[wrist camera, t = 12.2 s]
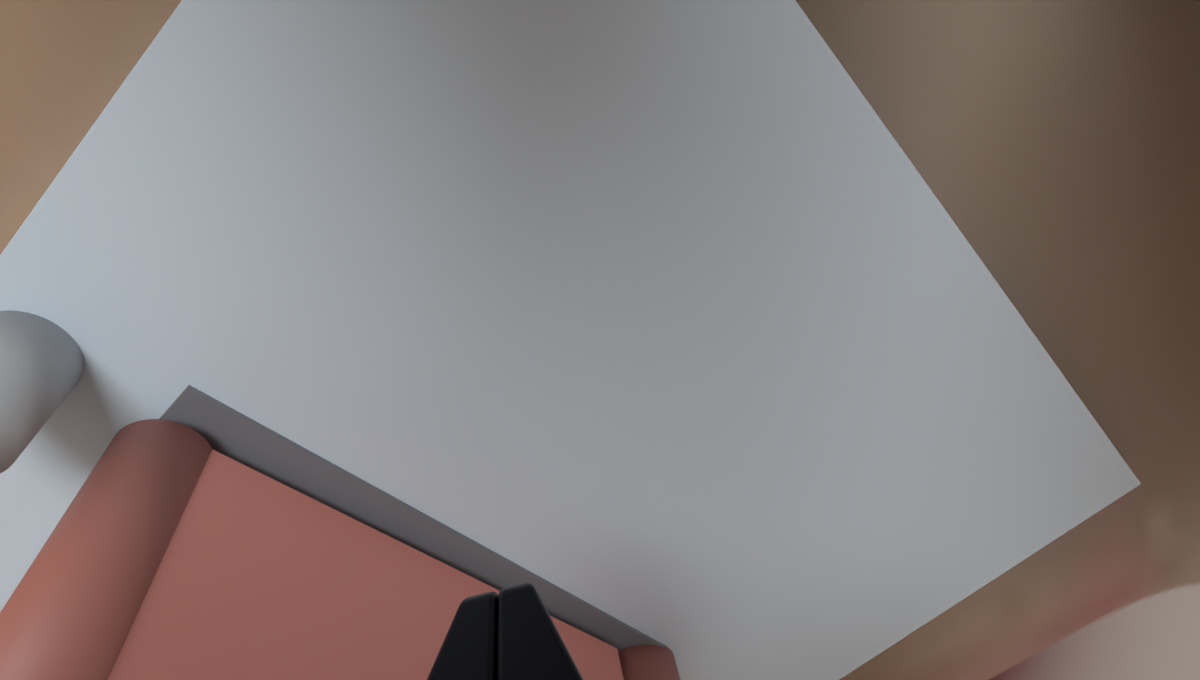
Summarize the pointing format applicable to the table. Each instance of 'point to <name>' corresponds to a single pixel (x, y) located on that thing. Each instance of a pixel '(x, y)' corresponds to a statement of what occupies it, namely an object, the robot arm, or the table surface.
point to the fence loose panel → (229, 581)
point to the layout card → (551, 318)
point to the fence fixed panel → (648, 663)
